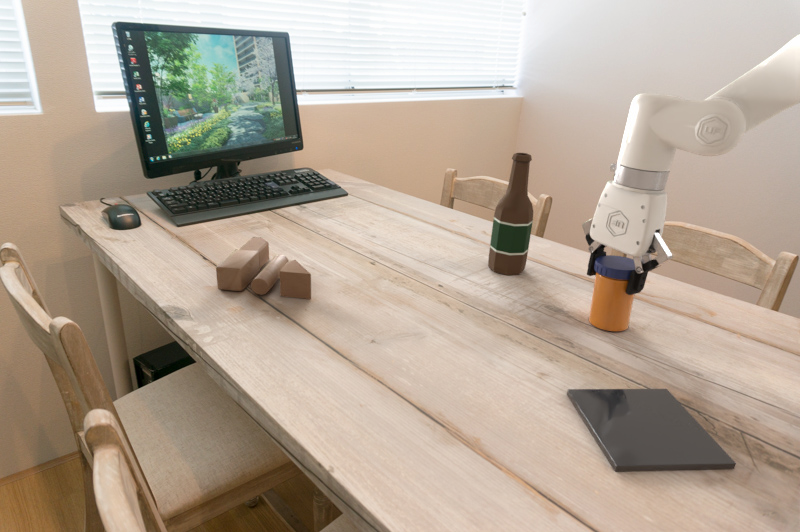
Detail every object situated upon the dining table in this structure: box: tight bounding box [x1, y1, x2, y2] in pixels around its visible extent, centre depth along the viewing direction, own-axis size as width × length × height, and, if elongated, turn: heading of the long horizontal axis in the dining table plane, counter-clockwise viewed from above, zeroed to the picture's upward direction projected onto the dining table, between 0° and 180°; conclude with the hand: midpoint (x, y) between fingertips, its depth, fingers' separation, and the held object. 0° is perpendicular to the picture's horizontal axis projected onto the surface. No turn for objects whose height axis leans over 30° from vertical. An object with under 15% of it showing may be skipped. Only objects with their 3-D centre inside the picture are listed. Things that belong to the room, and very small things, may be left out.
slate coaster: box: [566, 388, 737, 472], centre depth 65 cm, size 14×14×1 cm
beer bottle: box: [487, 152, 534, 276], centre depth 106 cm, size 8×8×24 cm
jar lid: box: [594, 254, 635, 280], centre depth 87 cm, size 7×7×2 cm
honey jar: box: [588, 272, 635, 332], centre depth 88 cm, size 6×6×10 cm
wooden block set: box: [215, 236, 312, 300], centre depth 99 cm, size 17×6×18 cm
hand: (613, 282), depth 88 cm, fingers closed on jar lid, 7 cm apart
